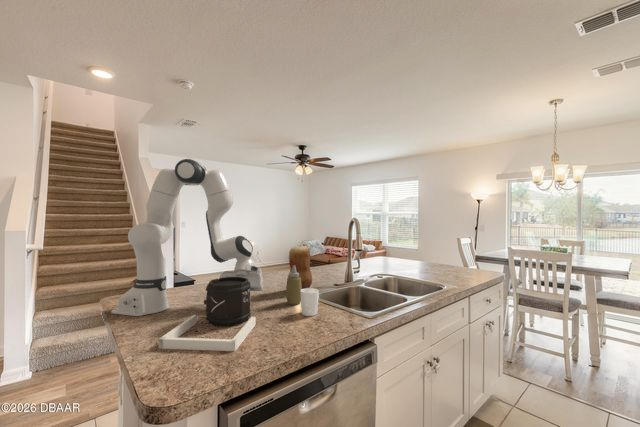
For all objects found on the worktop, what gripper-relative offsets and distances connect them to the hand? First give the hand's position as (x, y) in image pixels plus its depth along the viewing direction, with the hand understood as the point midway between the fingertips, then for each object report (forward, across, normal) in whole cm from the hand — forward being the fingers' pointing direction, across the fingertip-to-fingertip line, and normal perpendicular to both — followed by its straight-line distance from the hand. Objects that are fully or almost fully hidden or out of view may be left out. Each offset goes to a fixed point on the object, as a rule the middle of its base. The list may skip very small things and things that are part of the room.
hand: (236, 298), depth 130 cm
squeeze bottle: (-6, +23, +15) cm, 28 cm away
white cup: (+4, +32, +5) cm, 32 cm away
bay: (+21, 0, -13) cm, 25 cm away
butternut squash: (-21, +23, +30) cm, 43 cm away
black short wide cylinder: (+11, 0, -2) cm, 11 cm away
